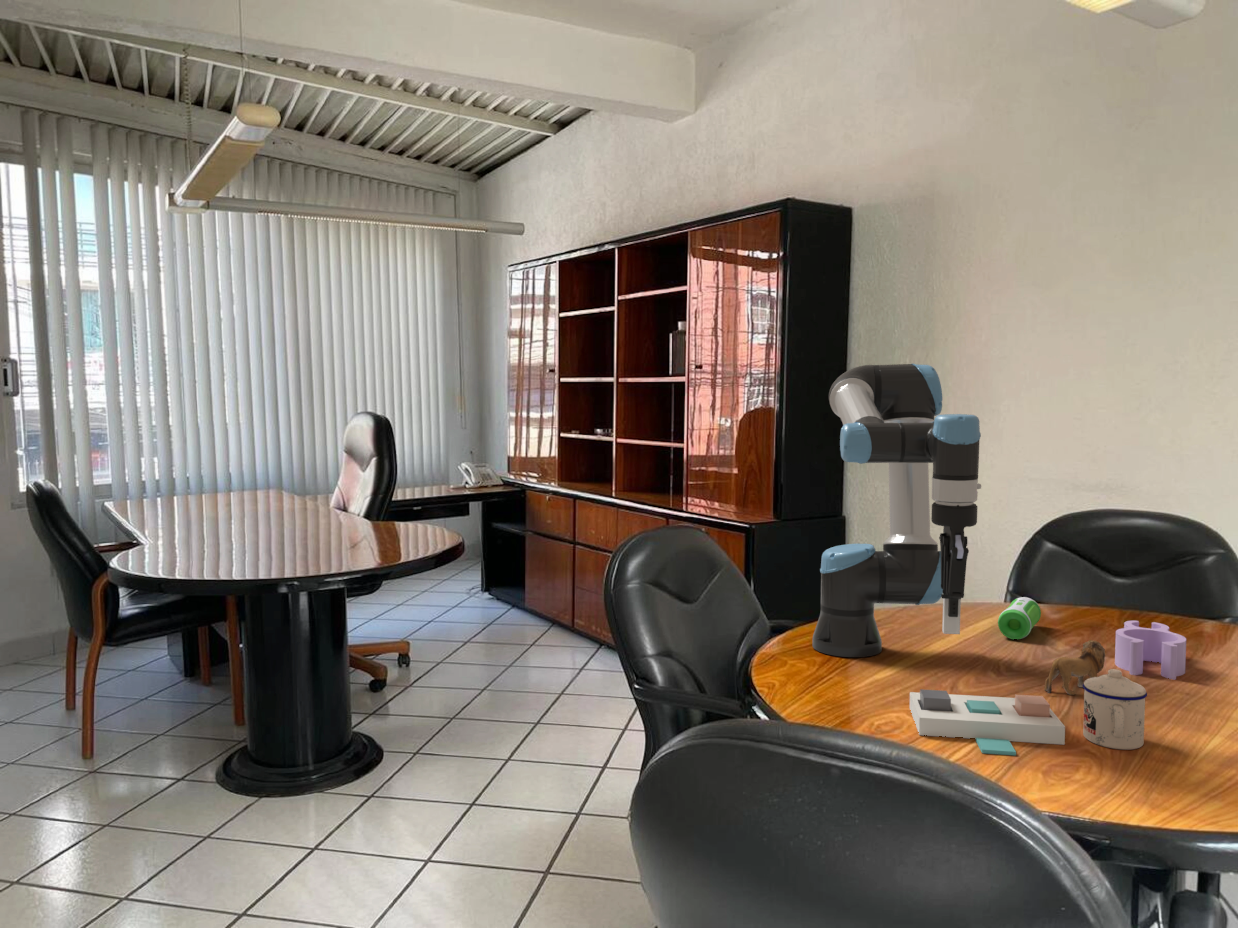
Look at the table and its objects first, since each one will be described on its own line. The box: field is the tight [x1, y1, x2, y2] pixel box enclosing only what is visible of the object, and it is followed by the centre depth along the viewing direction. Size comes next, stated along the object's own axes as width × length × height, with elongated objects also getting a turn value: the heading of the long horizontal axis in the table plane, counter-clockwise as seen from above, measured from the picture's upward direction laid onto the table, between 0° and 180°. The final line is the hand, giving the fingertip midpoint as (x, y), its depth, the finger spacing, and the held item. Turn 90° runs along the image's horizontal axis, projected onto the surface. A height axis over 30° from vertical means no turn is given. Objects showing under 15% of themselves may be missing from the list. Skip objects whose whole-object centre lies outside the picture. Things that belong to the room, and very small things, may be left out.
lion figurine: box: [1044, 640, 1106, 696], centre depth 166 cm, size 15×5×9 cm, turn 117°
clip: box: [1114, 620, 1187, 680], centre depth 182 cm, size 20×12×7 cm, turn 153°
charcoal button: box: [919, 688, 951, 712], centre depth 150 cm, size 4×4×3 cm
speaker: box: [997, 596, 1042, 640], centre depth 208 cm, size 18×7×8 cm, turn 146°
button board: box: [909, 691, 1066, 746], centre depth 149 cm, size 13×22×3 cm, turn 78°
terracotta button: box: [1014, 694, 1051, 717], centre depth 147 cm, size 4×4×3 cm
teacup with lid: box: [1082, 668, 1148, 751], centre depth 140 cm, size 12×9×12 cm
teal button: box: [967, 700, 1000, 714], centre depth 149 cm, size 4×4×3 cm
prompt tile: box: [975, 738, 1017, 757], centre depth 139 cm, size 5×5×1 cm
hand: (950, 632), depth 155 cm, fingers closed
